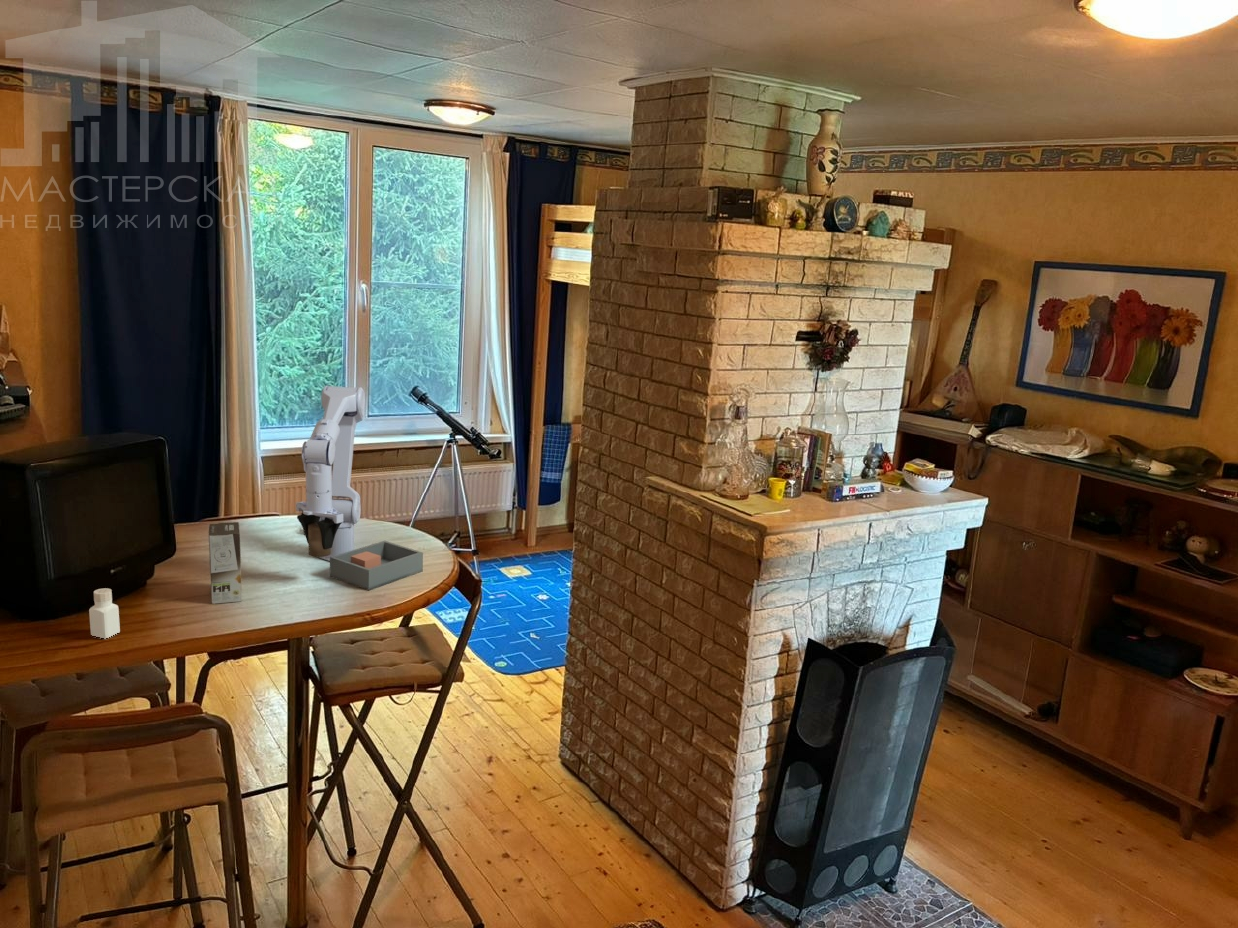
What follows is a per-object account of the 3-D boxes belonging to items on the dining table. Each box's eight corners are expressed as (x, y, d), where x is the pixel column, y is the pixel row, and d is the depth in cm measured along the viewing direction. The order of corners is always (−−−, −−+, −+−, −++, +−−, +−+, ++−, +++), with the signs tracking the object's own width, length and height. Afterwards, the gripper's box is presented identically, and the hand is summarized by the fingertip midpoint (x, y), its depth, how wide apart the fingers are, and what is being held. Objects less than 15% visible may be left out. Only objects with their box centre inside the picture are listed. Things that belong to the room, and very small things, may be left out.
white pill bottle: (105, 629, 190) (102, 586, 188) (121, 633, 189) (118, 589, 187) (89, 637, 187) (86, 592, 185) (105, 640, 186) (102, 595, 183)
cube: (350, 575, 227) (350, 556, 226) (366, 570, 231) (366, 551, 230) (364, 580, 224) (364, 560, 223) (380, 575, 228) (380, 555, 227)
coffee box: (242, 601, 209) (240, 533, 205) (211, 604, 206) (208, 535, 202) (241, 587, 217) (238, 521, 213) (211, 589, 214) (208, 523, 211)
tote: (330, 576, 227) (329, 557, 226) (384, 558, 241) (384, 540, 240) (368, 590, 220) (368, 570, 219) (422, 571, 234) (422, 552, 233)
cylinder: (304, 553, 220) (303, 525, 218) (321, 548, 224) (321, 520, 223) (318, 558, 217) (317, 529, 216) (335, 553, 222) (335, 525, 220)
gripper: (284, 487, 218) (285, 542, 221) (325, 499, 210) (326, 556, 213) (309, 481, 224) (310, 535, 227) (350, 493, 216) (350, 549, 219)
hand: (319, 545), depth 220 cm, fingers closed on cylinder, 5 cm apart
